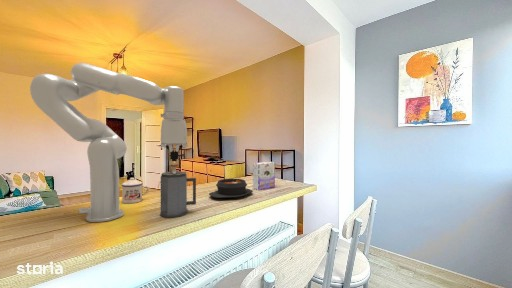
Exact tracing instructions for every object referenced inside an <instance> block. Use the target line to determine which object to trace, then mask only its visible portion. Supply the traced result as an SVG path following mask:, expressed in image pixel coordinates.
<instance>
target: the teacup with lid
mask: <svg viewBox="0 0 512 288" xmlns="http://www.w3.org/2000/svg"><path fill="white" fill-rule="evenodd" d="M143 188H147V189H146V192H145V193H143ZM121 189H122V190H121V191H122V193H121V197H122V198H121V199H122V200H121V201H122V204H137V203H139V202H142V200H143V196H146V195H148V194H149V191H150V188H149V186H148V185H143V182H142V181H139V180H137V179H135V177H130V178H129V179H128V180H127V181H125V182H122V183H121Z"/></svg>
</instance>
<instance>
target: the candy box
mask: <svg viewBox="0 0 512 288" xmlns="http://www.w3.org/2000/svg"><path fill="white" fill-rule="evenodd" d="M275 166H276V163H275V162H274V161H263V162H262V161H261V162H260V161H259V162H254V163H253V164H252V173H253V174H252V189H253V190H255V189H256V190H255V191H262V189H263V190H267V189H273V187H274V188H275V187H276V180H275V178H276V177H275V176H276V175H275V174H276V172H275V171H276V167H275Z"/></svg>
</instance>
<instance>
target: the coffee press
mask: <svg viewBox="0 0 512 288" xmlns="http://www.w3.org/2000/svg"><path fill="white" fill-rule="evenodd" d="M160 181H161V183H160V212H159V213H160V214H159V216H160V217H162V218H164V219H175V218H180V217H183V216H185V215H188V213H189V211H188V206H192V205H193V206H195V205H196V204H197V178H196V177H188V174H187V172H186V171H180V170H179V171H176V173H175V174H173V171H165V172H162V173H161V176H160ZM188 182H192V200H189V201H188V197H187V195H188V194H187V193H188V191H187V190H188V189H187V188H188V185H187V184H188Z"/></svg>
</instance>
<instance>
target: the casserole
mask: <svg viewBox="0 0 512 288" xmlns="http://www.w3.org/2000/svg"><path fill="white" fill-rule="evenodd" d="M215 186H216V188H217V190H216V191H215V190H214V191H212V192H209V194H208V195H209V196H210V197H212V198H216V199H223V198H225V199H238V198H241V197H243V196H246V195H248V194H253V192H254V191H253V190H252V189H250V188H247V187H248V184H247V183H246V180H245V179H243V178H242V179H241V178H222V179H219V180H217V183H216V184H215Z"/></svg>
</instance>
